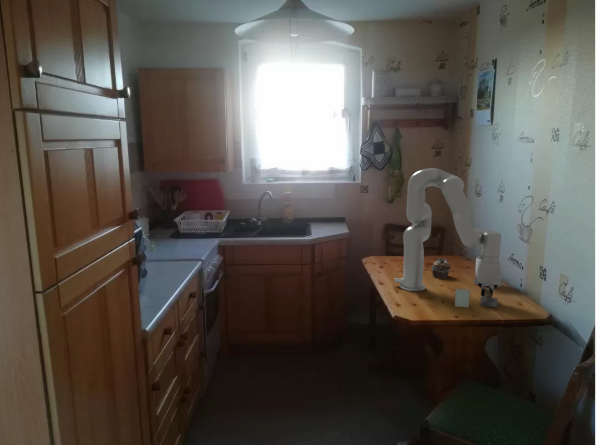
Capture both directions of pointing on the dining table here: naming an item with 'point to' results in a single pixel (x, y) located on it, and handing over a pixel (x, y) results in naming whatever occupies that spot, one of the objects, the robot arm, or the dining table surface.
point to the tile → (462, 297)
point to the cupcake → (440, 268)
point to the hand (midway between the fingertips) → (486, 297)
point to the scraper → (488, 299)
